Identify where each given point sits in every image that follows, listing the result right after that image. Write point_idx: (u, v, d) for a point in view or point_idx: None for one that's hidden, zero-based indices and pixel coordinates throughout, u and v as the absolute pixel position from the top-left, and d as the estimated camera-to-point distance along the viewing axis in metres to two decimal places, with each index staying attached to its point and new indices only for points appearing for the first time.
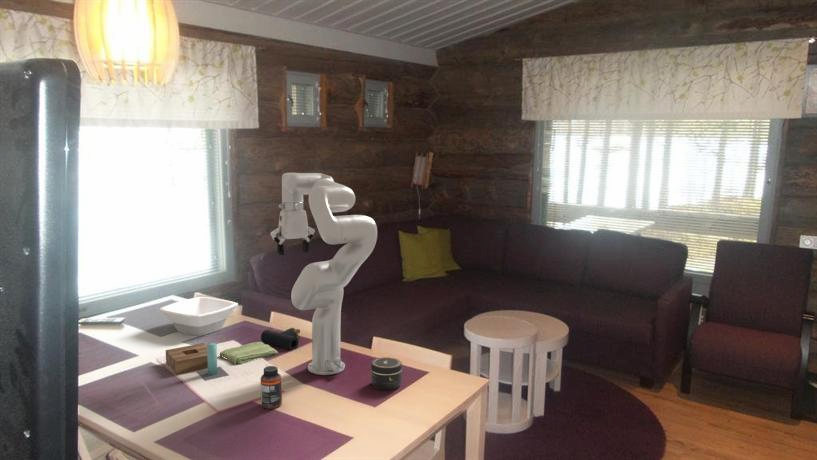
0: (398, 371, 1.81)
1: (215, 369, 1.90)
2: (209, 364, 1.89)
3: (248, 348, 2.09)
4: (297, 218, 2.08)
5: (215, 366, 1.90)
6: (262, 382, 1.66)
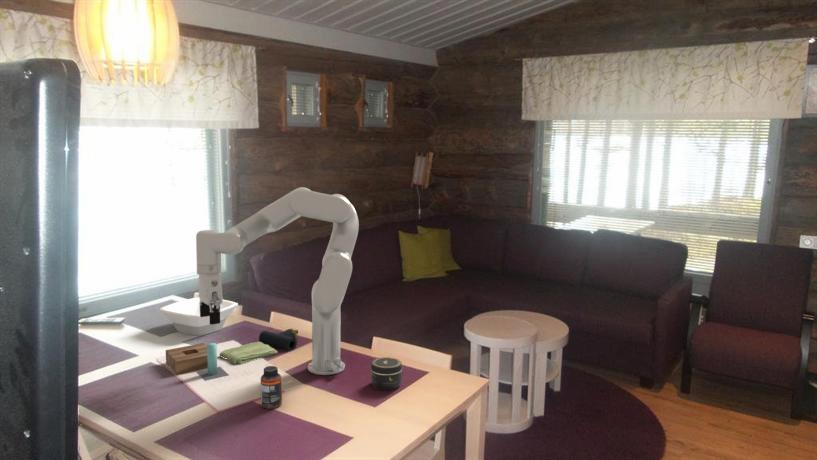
0: (398, 371, 1.81)
1: (215, 369, 1.90)
2: (209, 364, 1.89)
3: (248, 348, 2.09)
4: None
5: (215, 366, 1.90)
6: (262, 382, 1.66)
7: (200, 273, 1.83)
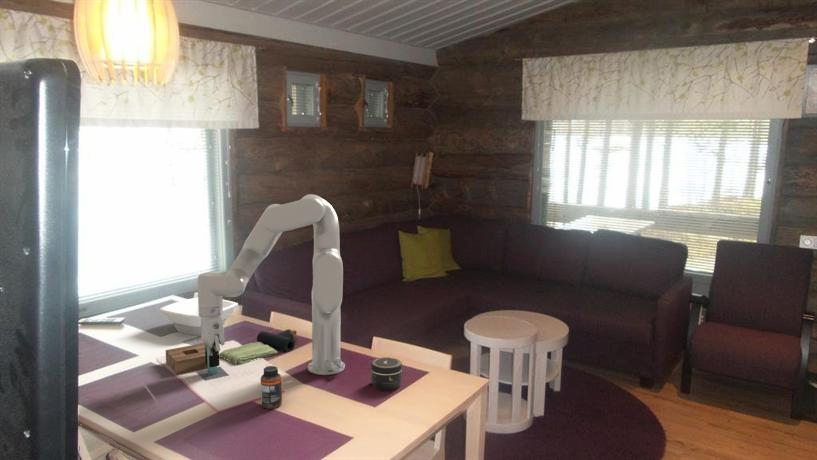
0: (398, 371, 1.81)
1: (215, 369, 1.90)
2: None
3: (248, 348, 2.09)
4: None
5: None
6: (262, 382, 1.66)
7: (202, 316, 1.85)
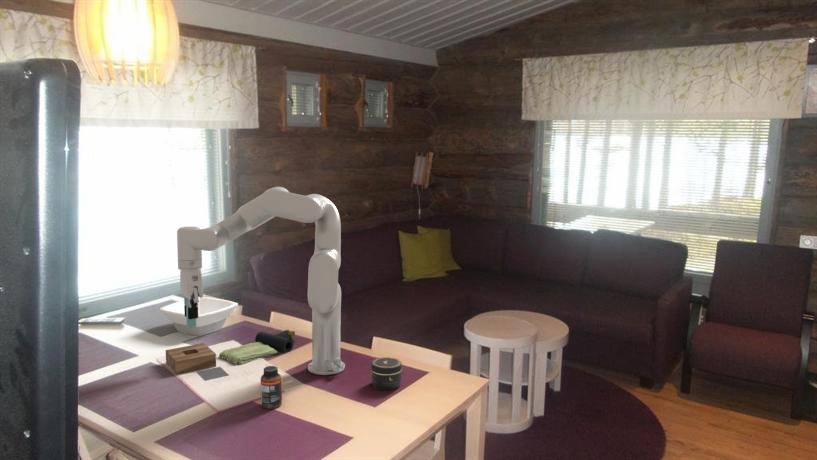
0: (398, 371, 1.81)
1: (194, 321, 1.94)
2: None
3: (248, 348, 2.09)
4: None
5: None
6: (262, 382, 1.66)
7: (181, 268, 1.89)
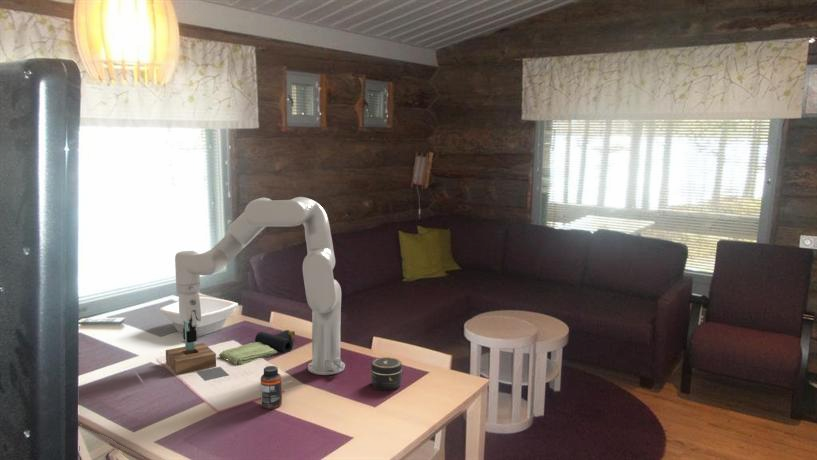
0: (398, 371, 1.81)
1: (192, 344, 1.97)
2: (186, 340, 1.96)
3: (248, 348, 2.09)
4: None
5: (192, 342, 1.96)
6: (262, 382, 1.66)
7: (179, 292, 1.91)
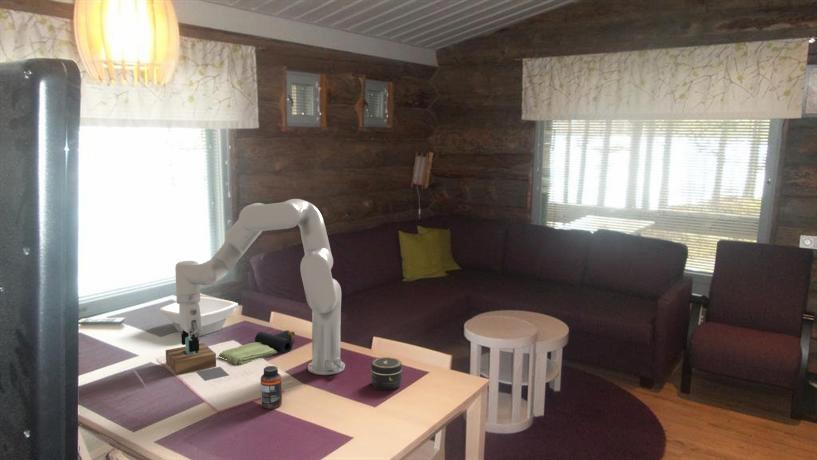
0: (398, 371, 1.81)
1: None
2: None
3: (247, 348, 2.09)
4: None
5: None
6: (262, 382, 1.66)
7: (179, 302, 1.92)
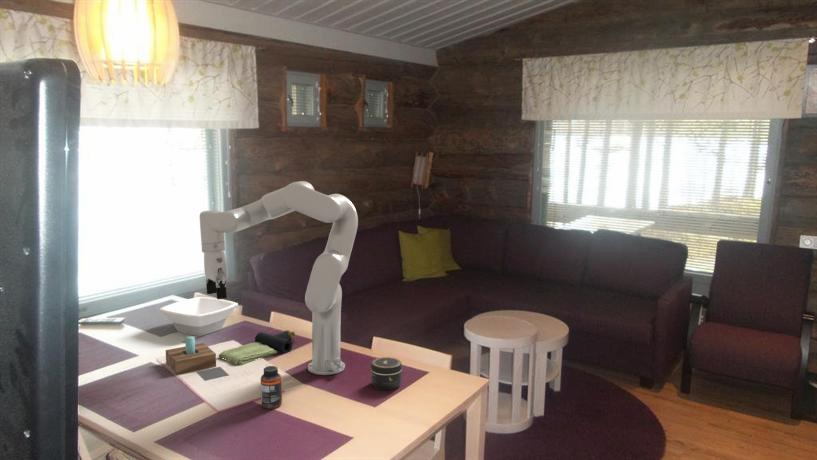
0: (398, 371, 1.81)
1: None
2: None
3: (247, 349, 2.09)
4: None
5: None
6: (262, 382, 1.66)
7: (205, 251, 1.93)
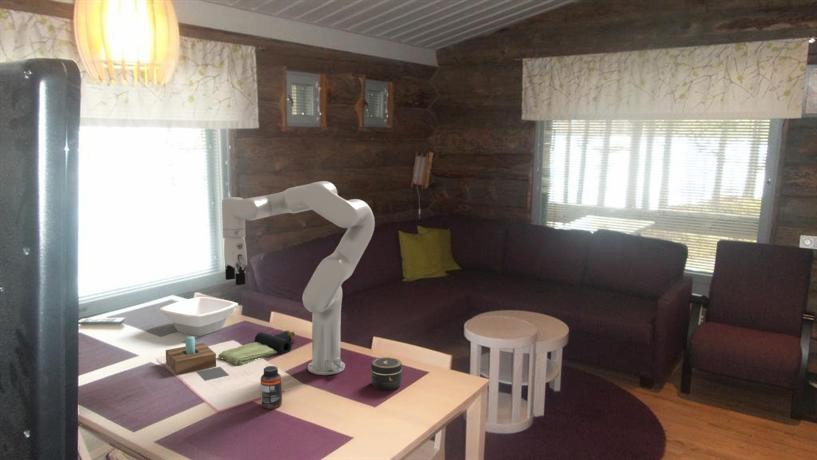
0: (398, 371, 1.81)
1: None
2: None
3: (247, 349, 2.09)
4: None
5: None
6: (262, 382, 1.66)
7: (226, 237, 1.95)
